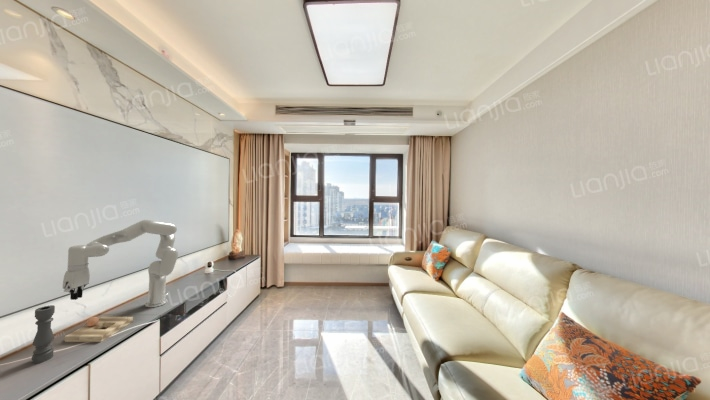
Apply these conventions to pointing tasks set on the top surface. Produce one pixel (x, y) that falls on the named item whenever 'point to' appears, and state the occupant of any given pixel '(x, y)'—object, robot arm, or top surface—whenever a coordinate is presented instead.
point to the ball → (92, 321)
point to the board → (99, 330)
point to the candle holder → (43, 334)
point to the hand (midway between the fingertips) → (76, 298)
